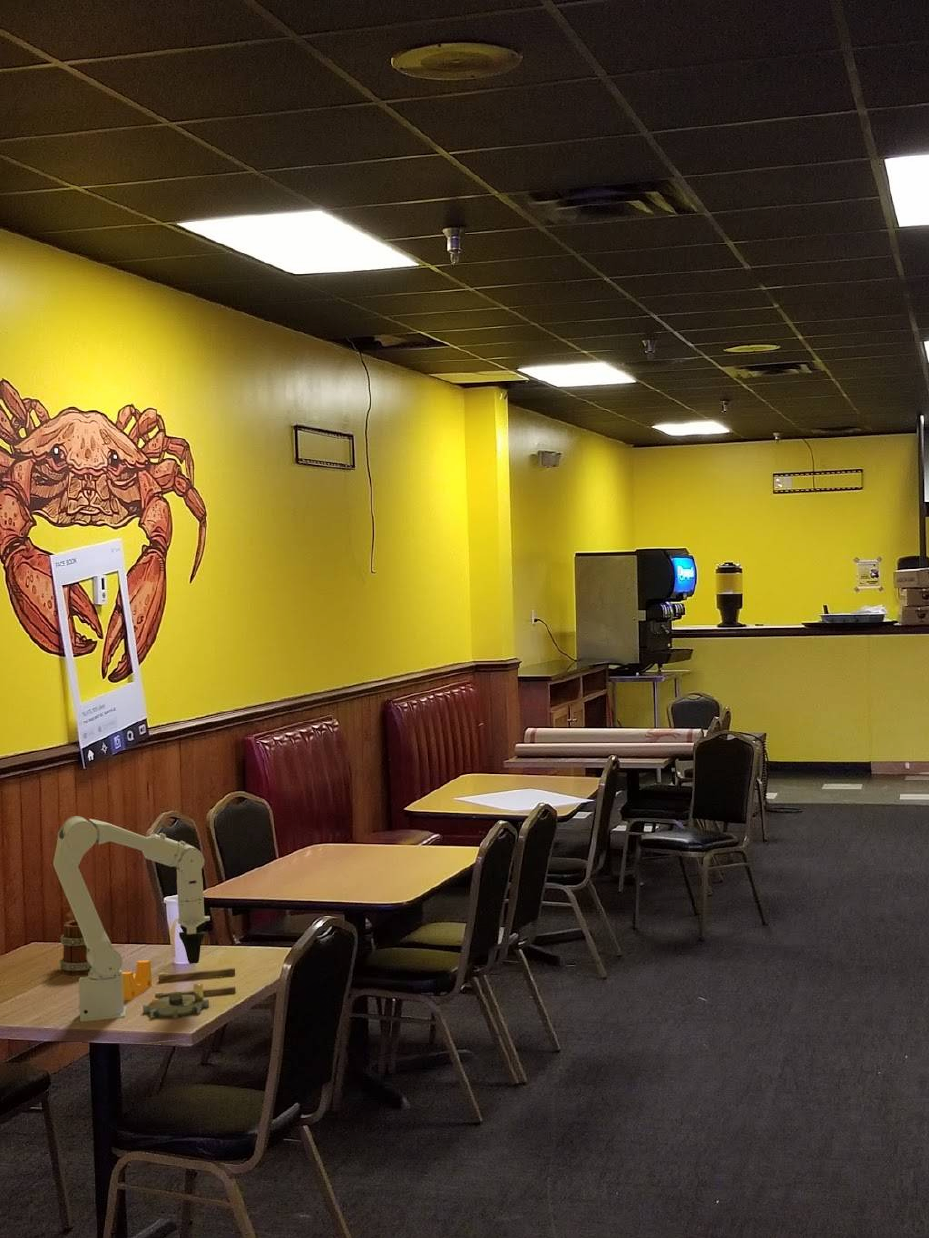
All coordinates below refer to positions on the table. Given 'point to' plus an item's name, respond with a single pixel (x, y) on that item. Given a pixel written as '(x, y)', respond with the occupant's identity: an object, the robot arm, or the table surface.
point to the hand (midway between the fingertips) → (194, 958)
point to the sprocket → (177, 1004)
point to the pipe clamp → (137, 980)
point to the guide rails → (198, 975)
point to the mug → (73, 949)
